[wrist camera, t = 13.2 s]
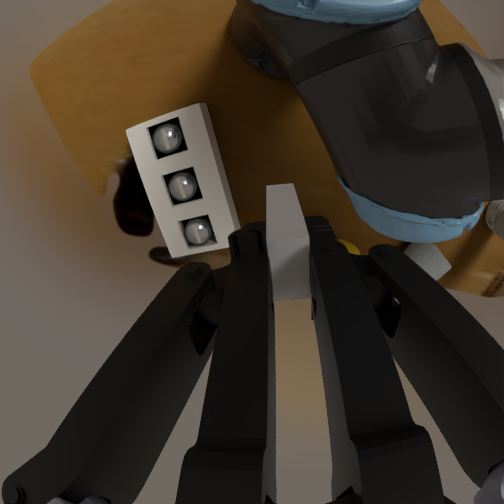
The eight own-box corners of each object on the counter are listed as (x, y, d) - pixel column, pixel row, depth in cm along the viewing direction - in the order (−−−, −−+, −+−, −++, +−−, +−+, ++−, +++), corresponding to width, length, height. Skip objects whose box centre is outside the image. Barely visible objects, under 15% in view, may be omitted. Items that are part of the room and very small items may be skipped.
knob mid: (173, 170, 36) (163, 178, 32) (197, 163, 35) (190, 170, 32) (181, 194, 37) (172, 204, 34) (205, 188, 37) (198, 198, 33)
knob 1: (160, 126, 32) (148, 130, 29) (184, 118, 32) (175, 120, 28) (167, 151, 34) (156, 157, 31) (192, 143, 34) (183, 148, 30)
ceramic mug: (383, 259, 41) (400, 288, 35) (416, 223, 38) (439, 247, 31) (414, 286, 44) (431, 314, 38) (444, 256, 41) (465, 281, 34)
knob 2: (187, 212, 39) (180, 224, 35) (211, 207, 38) (205, 218, 35) (195, 234, 40) (188, 248, 37) (218, 229, 40) (213, 243, 36)
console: (138, 126, 33) (125, 130, 29) (206, 103, 31) (198, 103, 28) (179, 244, 42) (172, 258, 38) (241, 231, 40) (239, 245, 37)
